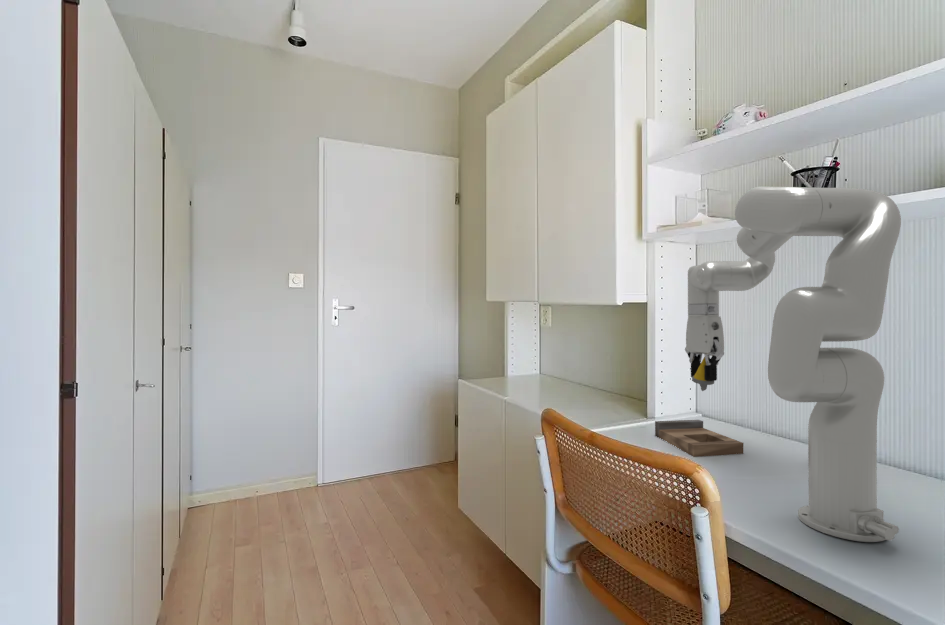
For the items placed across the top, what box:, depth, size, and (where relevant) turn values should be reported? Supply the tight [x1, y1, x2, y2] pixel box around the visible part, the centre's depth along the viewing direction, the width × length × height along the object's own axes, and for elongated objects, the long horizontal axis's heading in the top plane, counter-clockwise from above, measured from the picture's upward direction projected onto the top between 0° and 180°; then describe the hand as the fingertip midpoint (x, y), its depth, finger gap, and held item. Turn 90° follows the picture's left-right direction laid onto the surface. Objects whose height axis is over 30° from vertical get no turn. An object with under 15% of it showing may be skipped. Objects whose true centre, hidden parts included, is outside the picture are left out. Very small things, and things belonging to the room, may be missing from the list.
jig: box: [654, 419, 744, 458], centre depth 127 cm, size 18×14×5 cm
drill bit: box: [691, 356, 715, 392], centre depth 124 cm, size 5×5×10 cm
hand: (703, 378), depth 124 cm, fingers closed on drill bit, 5 cm apart
